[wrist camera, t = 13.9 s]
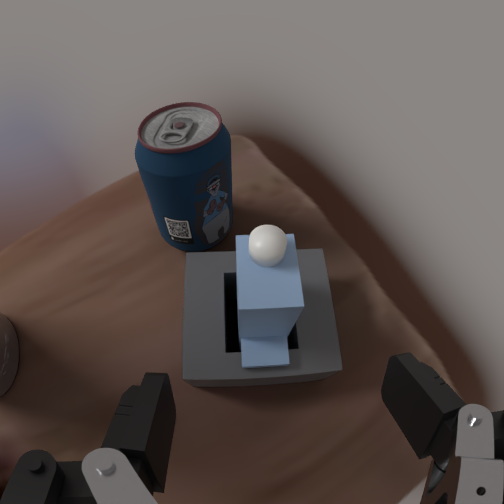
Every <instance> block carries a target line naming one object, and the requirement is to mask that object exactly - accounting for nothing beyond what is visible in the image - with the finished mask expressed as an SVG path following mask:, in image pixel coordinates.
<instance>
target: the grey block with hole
mask: <svg viewBox="0 0 504 504" xmlns="http://www.w3.org/2000/svg"><path fill="white" fill-rule="evenodd" d="M296 252H297V258H298V265H299V272H300V279H301V286H302V293H303V300H304V308H303V310H302V311H301V313H300V315H299V317H298V319H297V321H296V322H295V324H294V326H293V328H292V330H291V332H290V333H289V335H288V337H287V342H288V352H289V363H290V364H289V365H287V366H274V367H258V368H242V356H241V352H235V353H228V338H227V301H226V299H237V276H236V251H225V252H192V253H186V264H185V283H184V307H183V349H182V379H183V380H184V381H186V382H187V383H189V384H190V385H192V386H193V387H231V386H256V385H272V384H285V383H296V382H306V381H315V380H323V379H325V378H327V377H329V376H331V375H333V374H335V373H337V372H339V371H341V370H343V369H342V361H341V354H340V347H339V340H338V333H337V326H336V320H335V314H334V308H333V302H332V296H331V290H330V285H329V279H328V274H327V269H326V263H325V258H324V253H323V249H296Z"/></svg>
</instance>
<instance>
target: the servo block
mask: <svg viewBox="0 0 504 504" xmlns="http://www.w3.org/2000/svg"><path fill="white" fill-rule="evenodd" d="M236 276H237V313H238V336H239V352H241V356H242V368H258V367H274V366H287V365H289V364H290V363H289V352H288V342H287V337H288V335H289V333H290V332H291V330H292V328H293V326H294V324H295V322H296V321H297V319H298V317H299V315H300V313H301V311H302V310H303V308H304V300H303V293H302V286H301V279H300V272H299V265H298V258H297V252H296V245H295V239H294V234H285V233H284V232H283V231H282V230H281V229H280V228H278V227H276V226H273V225H261V226H258V227H256V228H255V229H254V230H253V231H252V232H251V234H250V235H236Z"/></svg>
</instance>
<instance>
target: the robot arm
mask: <svg viewBox="0 0 504 504" xmlns="http://www.w3.org/2000/svg"><path fill="white" fill-rule="evenodd" d="M18 362H19V345H18V339H17V335H16V332H15V329H14V327H13V325H12V324H11V322H10V321H9V320H8V319H7V318H6V317H5V316H4V315H2V314H1V313H0V396H2V395H3V394H4V393H6V392H7V390H8V389H9V388H10V386H11V385H12V383H13V381H14V378H15V375H16V372H17V368H18ZM381 394H382V399H383V402H384V403H385V405H386V407H387V408H388V410H389V411H390V413H391V414H392V416H393V418H394V419H395V421H396V422H397V424H398V426H399V427H400V429H401V430H402V432H403V434H404V435H405V437H406V438H407V440H408V442H409V443H410V445H411V446H412V448H413V450H414V451H415V453H416V455H417V456H418V458H419V460H420V459H422V458H425V457H427V456H430V455H431V456H432V457H433V460H432V461H431V463H430V467H429V471H428V476H427V480H426V484H425V488H424V492H423V495H422V499H421V502H420V504H504V410H503V411H498V412H490V411H489V410H488V409H486V408H485V407H483V406H481V405H478V404H469V405H466V404H465V403H464V401H463V400H462V399H461V398H460V397H459V396H458V395H457V394H456V393H455V392H454V391H453V389H452V388H451V387H450V386H449V385H448V384H446V383H445V381H444V380H443V379H442V378H440V376H439V375H438V373H437V372H436V371H435V370H434V369H433V368H431V367H429V366H428V365H426V364H424V363H422V362H421V363H420V362H419V361H418V360H417V359H416V358H415V357H414V356H413V355H412V354H411V353H404V354H399V355H394V356H391V357H390V359H389V361H388V365H387V369H386V373H385V377H384V381H383V385H382V390H381ZM118 405H119V406H118V407H117V409H116V412H115V415H114V417H113V419H112V421H111V424H110V426H109V429H108V431H107V434H106V437H105V439H104V442H103V444H102V447H101V448H100V449H96V450H94V451H92V452H90V453H89V454H87V455H86V457H85V458H84V460H83V461H72V462H56V460H55V459H54V458H53V456H52V455H51V454H49V453H48V452H46V451H43V450H31V451H29V452H26V453H25V454H23V455H22V456H21V457H20V459H19V460H18V462H17V464H16V466H15V469H14V471H13V473H12V475H11V477H10V479H9V482H8V484H7V486H6V489H5V491H4V493H3V496H2V498H1V500H0V504H158V503H157V502H156V501H155V499H154V498H153V492H161V493H164V488H165V481H166V475H167V468H168V462H169V456H170V450H171V444H172V438H173V432H174V427H175V421H176V409H175V403H174V398H173V394H172V389H171V384H170V379H169V376H168V374H167V373H148V372H147V373H145V375H144V378H143V381H142V383H141V386H131V387H130V388H129V389H128V390H127V391H126V392H125V393H124V394H123V395H122V397H121V400H120V402H119V404H118Z"/></svg>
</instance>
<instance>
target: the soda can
mask: <svg viewBox="0 0 504 504" xmlns="http://www.w3.org/2000/svg"><path fill="white" fill-rule="evenodd" d="M135 159H136V162H137V165H138V168H139V172H140V175H141V178H142V181H143V184H144V187H145V190H146V193H147V196H148V199H149V202H150V205H151V208H152V211H153V213H154V216H155V219H156V222H157V225H158V227H159V230H160V233H161V235H162V237H163V238H164V239H165V241H166V242H168V243H169V244H170V245H171V246H173V247H175V248H177V249H180V250H183V251H189V252H200V251H205V250H207V249H210V248H212V247H213V246H215V245H217V244H218V243H219V242H221V241H222V240H223V239H224V238H225V236H226V235H227V234H228V232H229V230H230V228H231V226H232V221H233V207H232V170H231V138H230V134H229V132H228V130H227V129H226V127H225V126H224V125H223V123H222V119H221V116H220V114H219V113H218V112H217V111H216V110H215V109H214V108H212V107H210V106H208V105H205V104H201V103H193V102H184V103H176V104H172V105H168V106H165V107H163V108H160V109H158V110H156V111H154V112H152V113H151V114H149V115H148V116H147V117H146V118H145V119H144V120H143V121H142V122H141V124H140V126H139V128H138V141H137V144H136V148H135Z"/></svg>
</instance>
